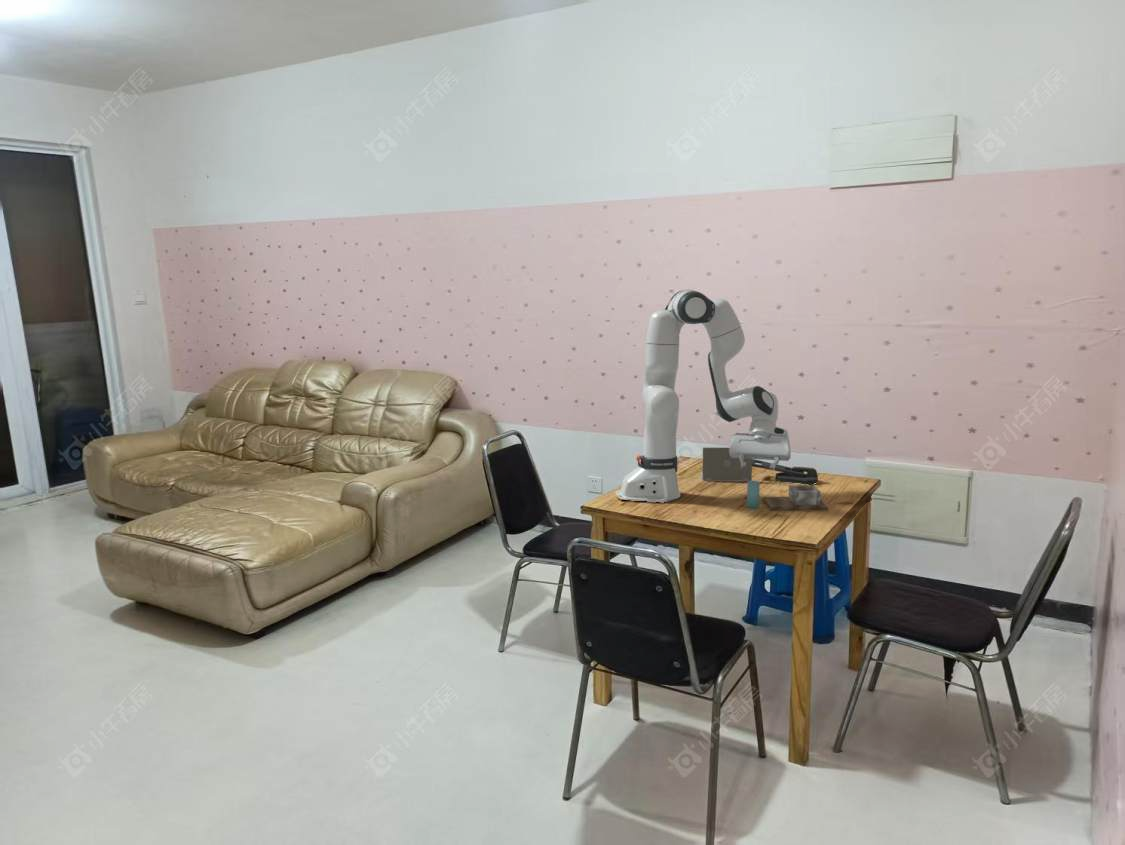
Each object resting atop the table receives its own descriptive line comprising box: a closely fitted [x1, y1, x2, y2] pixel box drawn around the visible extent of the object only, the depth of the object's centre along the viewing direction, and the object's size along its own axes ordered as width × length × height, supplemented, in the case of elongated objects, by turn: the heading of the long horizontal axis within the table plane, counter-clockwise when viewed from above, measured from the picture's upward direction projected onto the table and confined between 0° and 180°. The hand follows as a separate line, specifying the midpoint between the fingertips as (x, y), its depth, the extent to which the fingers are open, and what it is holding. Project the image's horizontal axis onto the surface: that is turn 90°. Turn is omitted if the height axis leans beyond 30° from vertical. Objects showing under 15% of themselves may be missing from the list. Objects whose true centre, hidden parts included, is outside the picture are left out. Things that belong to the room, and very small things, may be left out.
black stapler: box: [752, 459, 819, 485], centre depth 283 cm, size 9×7×25 cm
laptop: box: [700, 447, 753, 482], centre depth 289 cm, size 18×12×13 cm
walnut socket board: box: [762, 484, 829, 512], centre depth 250 cm, size 18×12×6 cm, turn 88°
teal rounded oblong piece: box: [746, 480, 761, 510], centre depth 249 cm, size 4×4×8 cm
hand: (757, 468), depth 255 cm, fingers open, 8 cm apart
